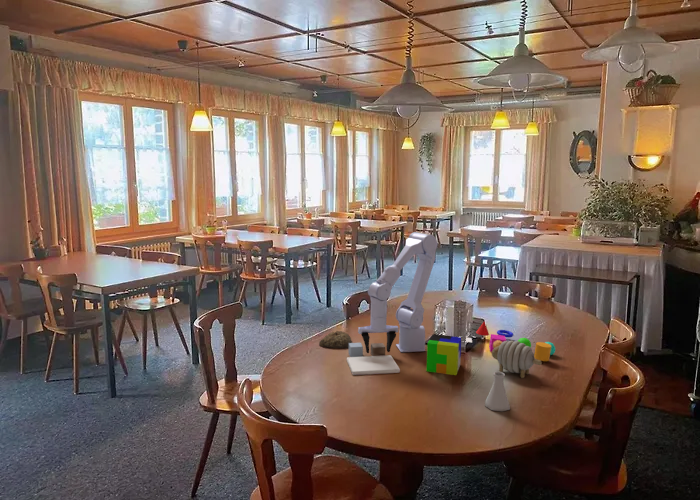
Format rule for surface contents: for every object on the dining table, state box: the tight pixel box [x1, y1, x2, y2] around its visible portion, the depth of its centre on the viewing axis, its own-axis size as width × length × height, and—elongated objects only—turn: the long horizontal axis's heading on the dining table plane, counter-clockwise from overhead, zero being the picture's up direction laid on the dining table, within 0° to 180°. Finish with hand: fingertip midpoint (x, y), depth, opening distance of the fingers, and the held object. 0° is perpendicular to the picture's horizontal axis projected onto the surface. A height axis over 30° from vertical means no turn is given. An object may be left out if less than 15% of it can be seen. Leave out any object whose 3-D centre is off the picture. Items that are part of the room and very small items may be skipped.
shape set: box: [465, 320, 556, 362], centre depth 199 cm, size 29×35×7 cm
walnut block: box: [370, 342, 386, 356], centre depth 192 cm, size 4×4×4 cm
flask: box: [484, 371, 511, 412], centre depth 152 cm, size 7×7×10 cm
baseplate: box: [346, 354, 401, 376], centre depth 182 cm, size 16×13×1 cm
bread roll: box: [318, 330, 353, 349], centre depth 205 cm, size 13×12×5 cm
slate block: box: [348, 342, 364, 357], centre depth 192 cm, size 4×4×4 cm
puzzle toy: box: [425, 333, 462, 376], centre depth 181 cm, size 10×10×10 cm
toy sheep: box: [491, 340, 543, 379], centre depth 176 cm, size 11×17×11 cm, turn 55°
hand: (377, 351), depth 192 cm, fingers open, 7 cm apart
